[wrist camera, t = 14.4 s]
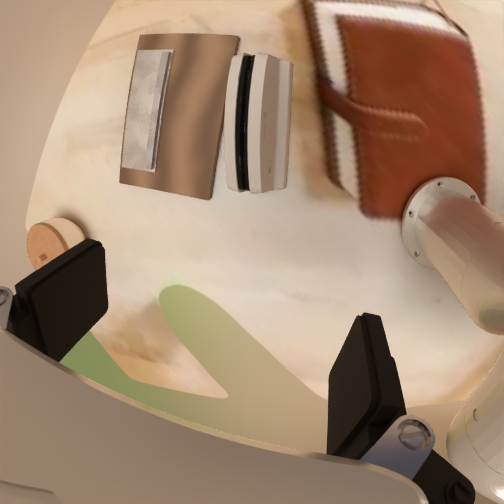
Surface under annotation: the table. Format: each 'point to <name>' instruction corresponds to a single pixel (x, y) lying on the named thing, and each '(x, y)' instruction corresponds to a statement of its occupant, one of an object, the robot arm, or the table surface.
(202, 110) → the mounting board
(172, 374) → the table surface
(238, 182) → the white arched block
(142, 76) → the plate
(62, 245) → the lidded jar
